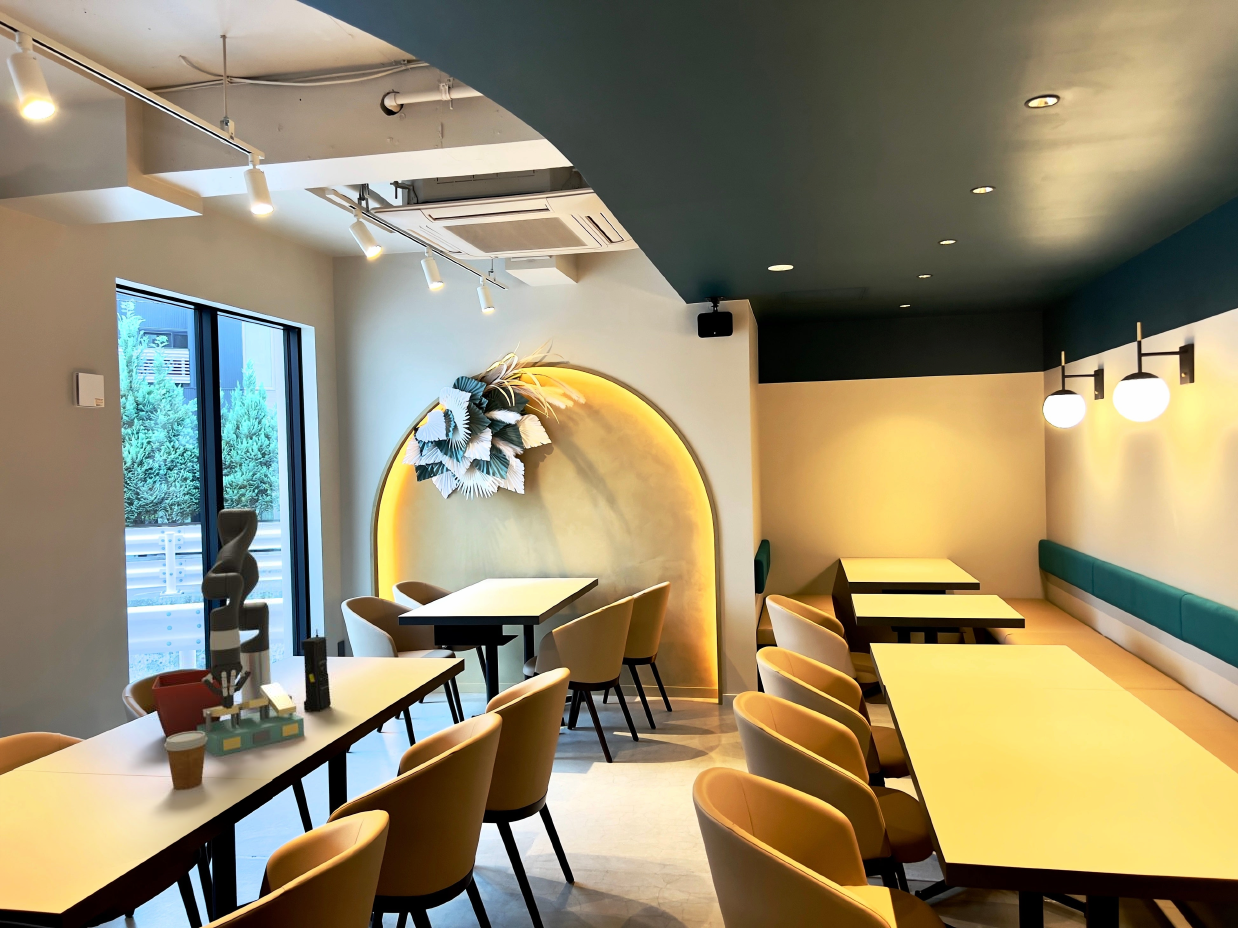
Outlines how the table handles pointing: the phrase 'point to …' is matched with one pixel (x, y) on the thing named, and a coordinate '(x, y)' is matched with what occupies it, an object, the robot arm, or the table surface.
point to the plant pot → (184, 701)
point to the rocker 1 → (221, 711)
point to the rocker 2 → (253, 703)
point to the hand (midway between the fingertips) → (227, 708)
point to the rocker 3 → (278, 699)
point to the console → (250, 730)
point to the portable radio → (316, 674)
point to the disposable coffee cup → (186, 758)
